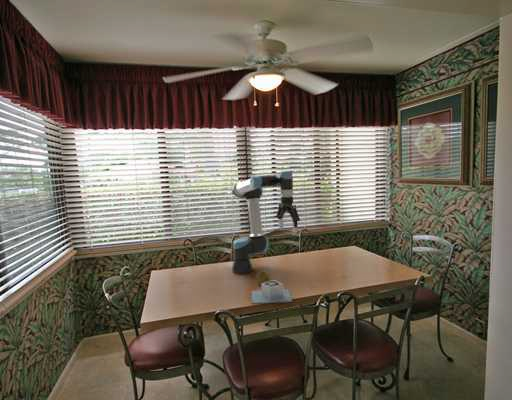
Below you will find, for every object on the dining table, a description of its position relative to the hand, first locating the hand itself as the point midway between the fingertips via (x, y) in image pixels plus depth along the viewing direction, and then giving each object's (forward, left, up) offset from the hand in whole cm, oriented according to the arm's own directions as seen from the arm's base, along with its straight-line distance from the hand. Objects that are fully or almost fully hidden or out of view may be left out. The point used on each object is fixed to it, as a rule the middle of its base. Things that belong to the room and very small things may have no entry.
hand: (287, 230), depth 181 cm
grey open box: (+15, -12, -34) cm, 39 cm away
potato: (-4, -16, -35) cm, 39 cm away
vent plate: (+15, -12, -35) cm, 40 cm away
